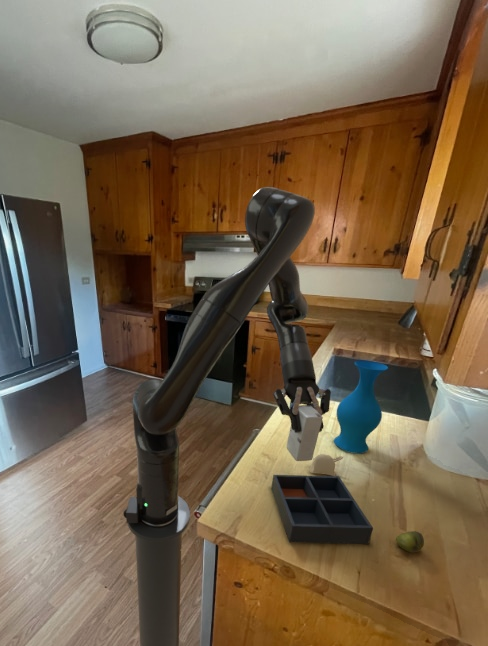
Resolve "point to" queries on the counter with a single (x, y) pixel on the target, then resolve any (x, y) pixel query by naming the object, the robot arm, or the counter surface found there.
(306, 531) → the grid
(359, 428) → the vase
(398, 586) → the counter surface
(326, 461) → the decorative ornament
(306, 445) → the cosmetic box
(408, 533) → the lime
